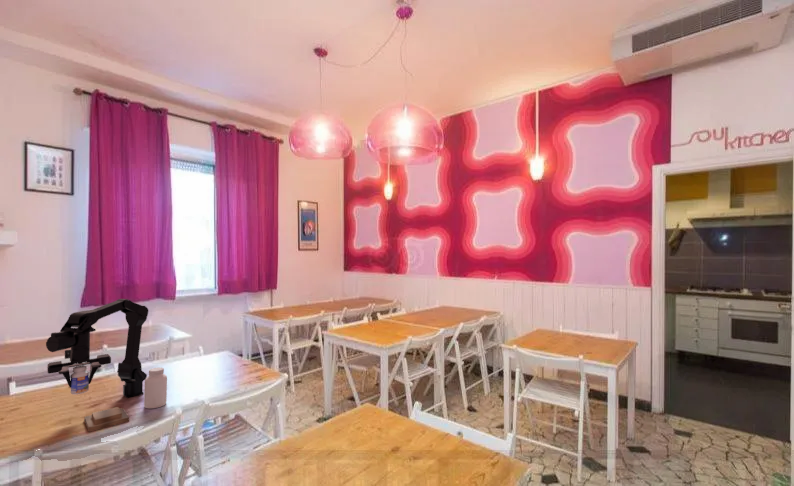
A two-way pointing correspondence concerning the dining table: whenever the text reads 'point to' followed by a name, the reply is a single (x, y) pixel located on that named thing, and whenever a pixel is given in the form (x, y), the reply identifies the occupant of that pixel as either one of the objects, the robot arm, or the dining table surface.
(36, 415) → the dining table surface
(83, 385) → the pill bottle
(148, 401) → the pill bottle
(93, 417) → the walnut stand
